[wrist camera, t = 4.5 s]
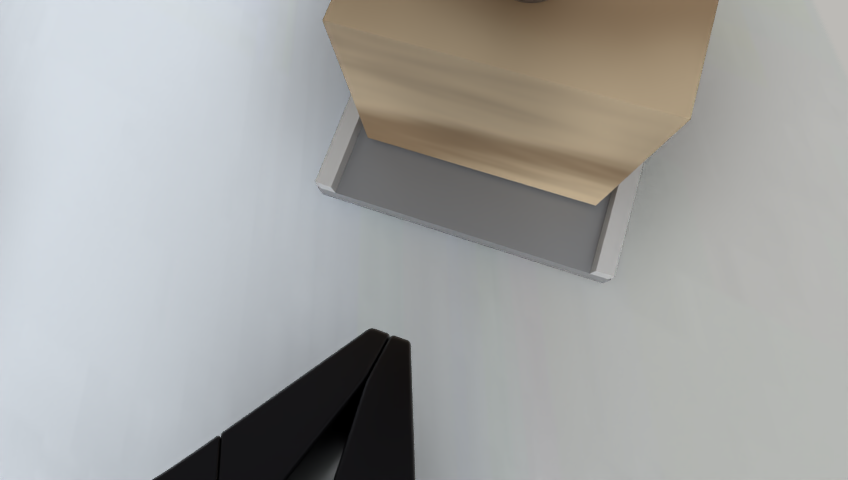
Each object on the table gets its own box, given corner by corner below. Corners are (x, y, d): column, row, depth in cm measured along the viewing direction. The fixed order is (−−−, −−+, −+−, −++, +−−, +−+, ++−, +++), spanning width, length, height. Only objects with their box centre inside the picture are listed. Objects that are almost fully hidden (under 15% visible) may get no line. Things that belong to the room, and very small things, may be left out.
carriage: (595, 205, 20) (804, 15, 8) (367, 137, 21) (271, -110, 10) (622, 108, 21) (841, -183, 9) (402, 49, 22) (353, -273, 11)
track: (602, 282, 21) (644, 267, 16) (323, 193, 22) (293, 157, 18) (664, 45, 23) (715, -25, 19) (409, -19, 25) (401, -97, 20)
